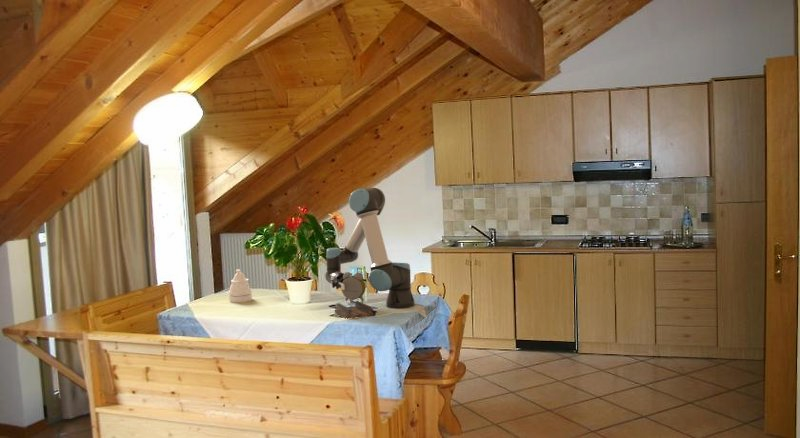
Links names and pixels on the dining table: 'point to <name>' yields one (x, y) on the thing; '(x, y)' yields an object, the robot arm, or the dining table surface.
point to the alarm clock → (353, 286)
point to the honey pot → (240, 288)
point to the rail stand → (354, 310)
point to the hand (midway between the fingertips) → (355, 285)
